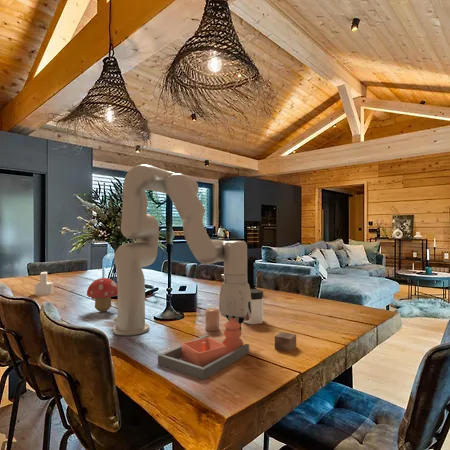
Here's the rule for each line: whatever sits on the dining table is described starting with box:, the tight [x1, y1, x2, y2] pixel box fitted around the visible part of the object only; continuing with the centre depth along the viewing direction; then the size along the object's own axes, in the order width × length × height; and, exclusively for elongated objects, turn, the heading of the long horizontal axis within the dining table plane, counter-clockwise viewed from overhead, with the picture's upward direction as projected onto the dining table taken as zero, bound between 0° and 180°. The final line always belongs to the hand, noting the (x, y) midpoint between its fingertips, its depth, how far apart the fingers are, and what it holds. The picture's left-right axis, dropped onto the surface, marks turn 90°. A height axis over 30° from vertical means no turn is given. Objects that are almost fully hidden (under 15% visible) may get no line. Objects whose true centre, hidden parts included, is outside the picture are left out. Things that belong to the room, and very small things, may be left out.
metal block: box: [274, 331, 297, 353], centre depth 101 cm, size 5×5×4 cm
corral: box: [157, 334, 250, 381], centre depth 93 cm, size 16×21×2 cm
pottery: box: [181, 318, 245, 367], centre depth 95 cm, size 18×10×10 cm, turn 125°
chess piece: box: [247, 255, 257, 289], centre depth 190 cm, size 8×8×20 cm
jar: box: [243, 288, 264, 325], centre depth 130 cm, size 9×8×12 cm
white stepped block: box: [34, 271, 54, 296], centre depth 187 cm, size 9×9×12 cm
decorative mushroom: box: [86, 277, 118, 313], centre depth 146 cm, size 13×13×15 cm
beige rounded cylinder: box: [204, 307, 220, 332], centre depth 120 cm, size 5×5×7 cm
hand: (235, 336), depth 106 cm, fingers closed
